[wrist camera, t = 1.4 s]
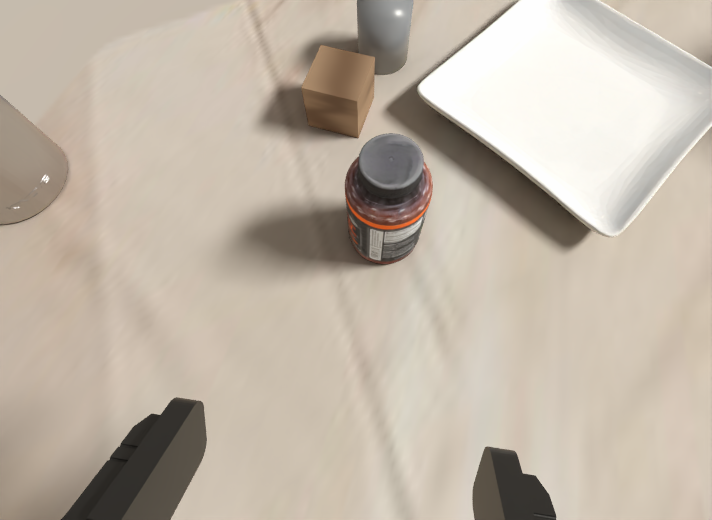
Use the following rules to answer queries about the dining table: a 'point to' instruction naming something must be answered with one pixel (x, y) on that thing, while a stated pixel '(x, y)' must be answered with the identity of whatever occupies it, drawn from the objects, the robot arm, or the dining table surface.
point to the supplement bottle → (387, 198)
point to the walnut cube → (339, 90)
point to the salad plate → (578, 104)
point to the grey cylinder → (384, 32)
